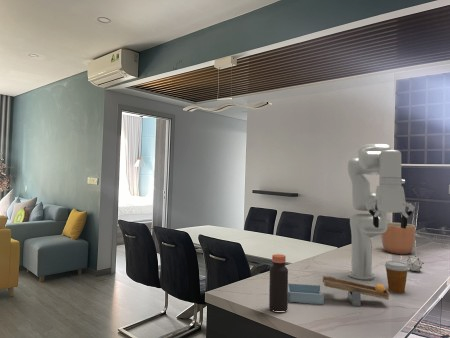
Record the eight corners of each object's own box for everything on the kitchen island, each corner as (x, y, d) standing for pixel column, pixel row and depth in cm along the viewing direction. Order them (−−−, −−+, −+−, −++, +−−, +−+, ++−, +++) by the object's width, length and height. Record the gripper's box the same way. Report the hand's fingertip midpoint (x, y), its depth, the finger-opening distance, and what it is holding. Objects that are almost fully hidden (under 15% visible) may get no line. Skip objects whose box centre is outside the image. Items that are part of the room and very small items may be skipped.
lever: (320, 279, 148) (321, 270, 148) (377, 291, 144) (379, 282, 144) (324, 288, 135) (326, 279, 135) (387, 302, 131) (389, 292, 131)
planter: (421, 256, 220) (421, 226, 221) (389, 255, 221) (389, 226, 221) (405, 249, 241) (405, 222, 241) (375, 249, 241) (376, 222, 242)
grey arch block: (347, 297, 141) (347, 283, 141) (355, 298, 141) (355, 284, 141) (352, 305, 132) (352, 291, 132) (360, 306, 131) (360, 291, 132)
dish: (287, 292, 146) (287, 283, 146) (319, 294, 144) (319, 285, 144) (288, 302, 134) (288, 292, 134) (323, 304, 132) (323, 294, 132)
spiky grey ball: (411, 278, 183) (398, 262, 184) (415, 270, 189) (403, 254, 190) (426, 273, 177) (413, 257, 178) (430, 265, 183) (417, 249, 184)
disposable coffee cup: (387, 285, 158) (387, 259, 158) (410, 290, 152) (410, 263, 152) (382, 291, 150) (382, 263, 151) (406, 296, 144) (406, 267, 144)
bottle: (285, 306, 130) (286, 253, 131) (289, 313, 124) (289, 257, 124) (267, 306, 130) (268, 253, 131) (270, 313, 123) (271, 257, 124)
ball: (373, 290, 137) (375, 281, 137) (382, 292, 136) (384, 284, 136) (375, 293, 133) (377, 284, 133) (385, 296, 133) (387, 287, 133)
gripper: (410, 182, 132) (410, 227, 132) (363, 182, 134) (363, 225, 134) (418, 183, 125) (418, 230, 124) (369, 182, 127) (368, 228, 127)
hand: (389, 227), depth 129 cm, fingers open, 9 cm apart
